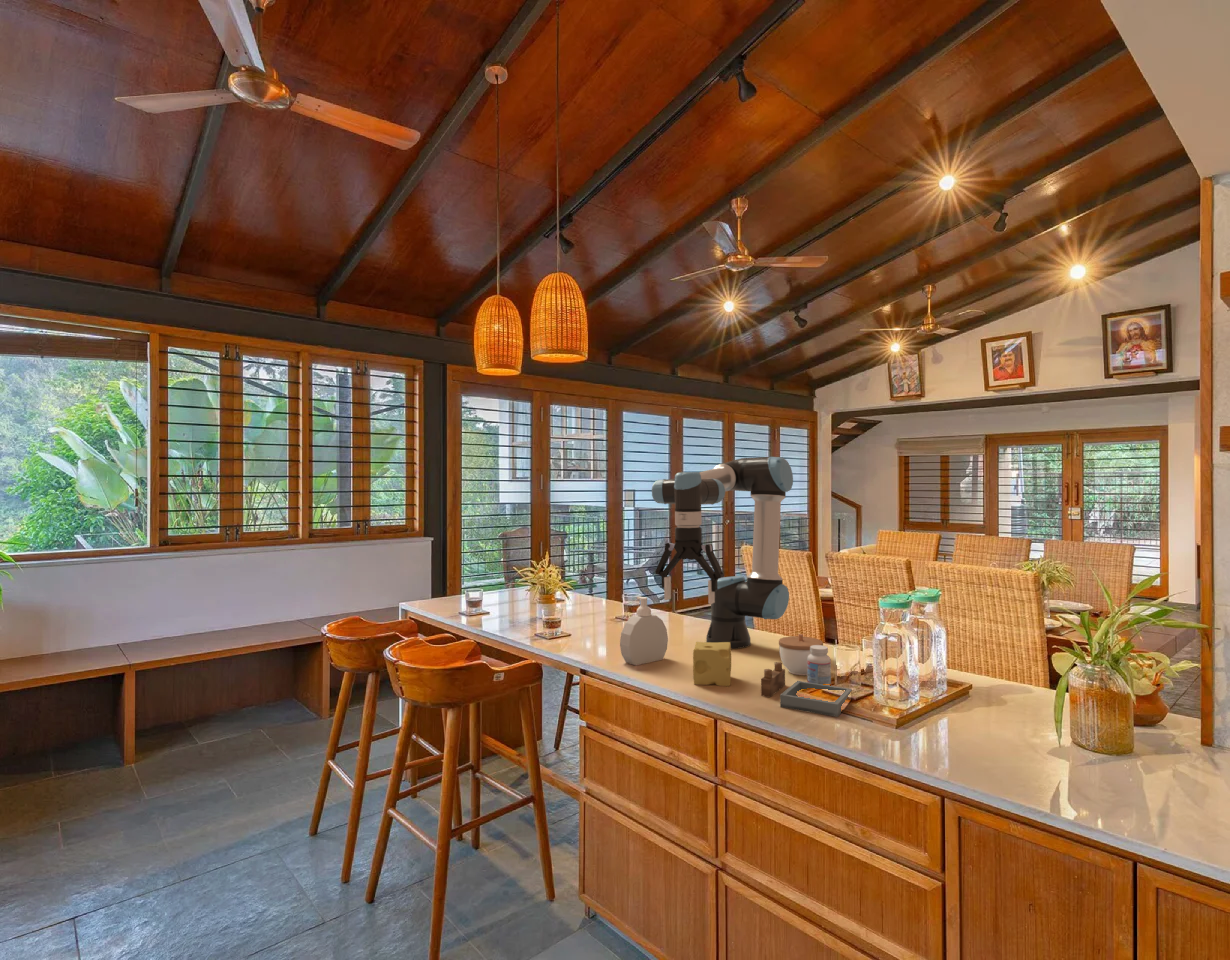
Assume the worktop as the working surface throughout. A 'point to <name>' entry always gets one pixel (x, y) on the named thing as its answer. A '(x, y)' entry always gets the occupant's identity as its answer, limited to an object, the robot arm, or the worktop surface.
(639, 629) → the soap bottle
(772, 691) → the stop rail
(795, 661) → the lidded bowl
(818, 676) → the pill bottle
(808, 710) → the tray
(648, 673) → the worktop surface
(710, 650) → the cheese
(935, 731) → the worktop surface
